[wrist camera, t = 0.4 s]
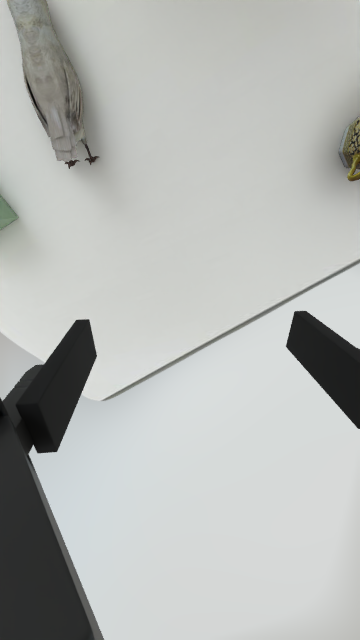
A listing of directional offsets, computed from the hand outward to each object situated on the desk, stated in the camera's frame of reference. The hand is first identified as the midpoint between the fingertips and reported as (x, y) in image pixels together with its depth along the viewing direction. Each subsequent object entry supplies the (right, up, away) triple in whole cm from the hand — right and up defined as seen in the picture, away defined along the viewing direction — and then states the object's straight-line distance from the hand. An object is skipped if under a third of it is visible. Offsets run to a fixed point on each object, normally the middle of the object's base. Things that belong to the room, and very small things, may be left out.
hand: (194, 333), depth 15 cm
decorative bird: (-15, +29, +14) cm, 36 cm away
